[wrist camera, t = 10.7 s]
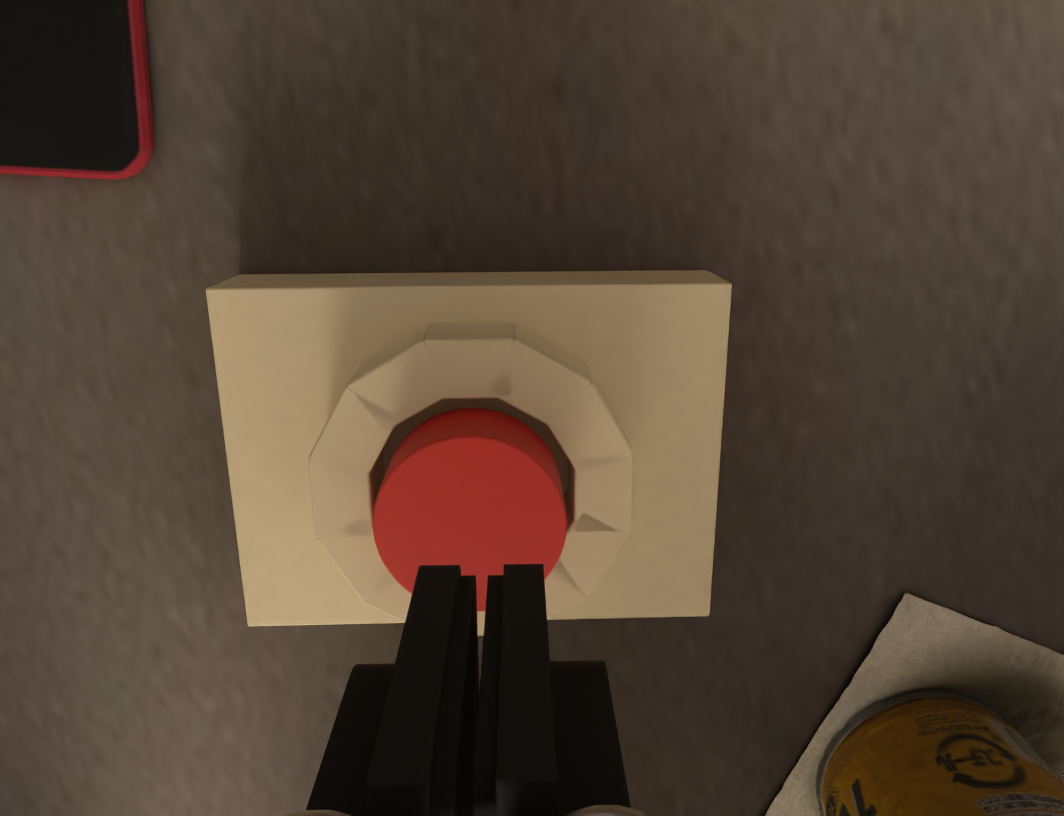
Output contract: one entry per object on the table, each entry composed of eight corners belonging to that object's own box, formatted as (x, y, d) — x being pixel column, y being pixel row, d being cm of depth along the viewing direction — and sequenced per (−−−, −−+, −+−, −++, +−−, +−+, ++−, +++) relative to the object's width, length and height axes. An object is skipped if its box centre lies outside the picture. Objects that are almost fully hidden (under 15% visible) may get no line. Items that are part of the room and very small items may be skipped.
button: (390, 570, 17) (378, 615, 15) (380, 408, 16) (366, 436, 14) (560, 567, 17) (566, 611, 15) (561, 405, 16) (567, 434, 14)
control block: (272, 580, 21) (221, 673, 17) (238, 274, 19) (170, 302, 15) (689, 572, 21) (729, 661, 17) (707, 269, 19) (758, 296, 15)
